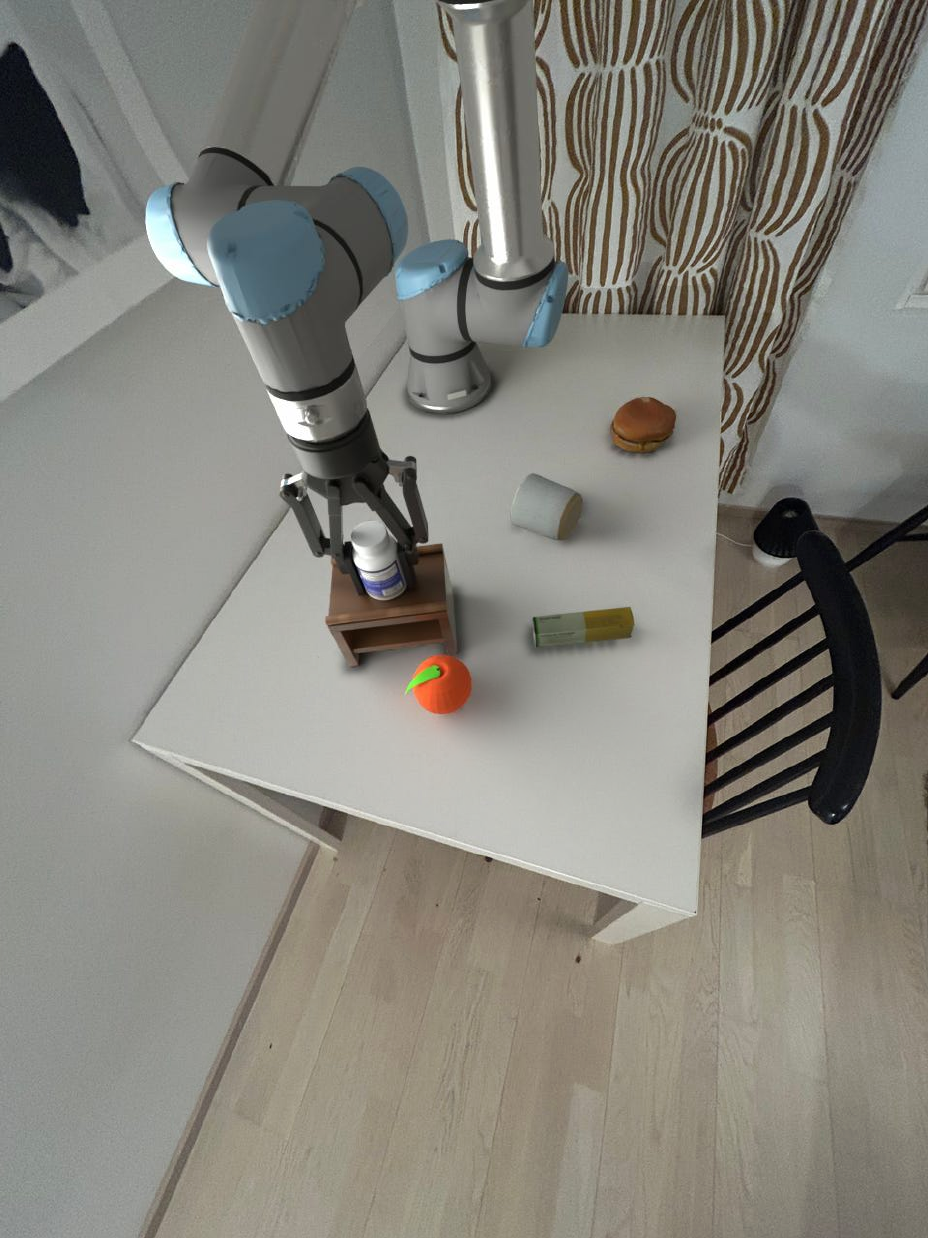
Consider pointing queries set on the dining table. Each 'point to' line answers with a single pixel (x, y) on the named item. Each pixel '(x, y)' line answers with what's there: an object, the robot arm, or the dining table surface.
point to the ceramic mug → (546, 507)
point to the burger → (643, 425)
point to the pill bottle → (377, 560)
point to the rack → (394, 611)
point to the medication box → (583, 627)
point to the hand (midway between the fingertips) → (386, 582)
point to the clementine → (441, 684)
